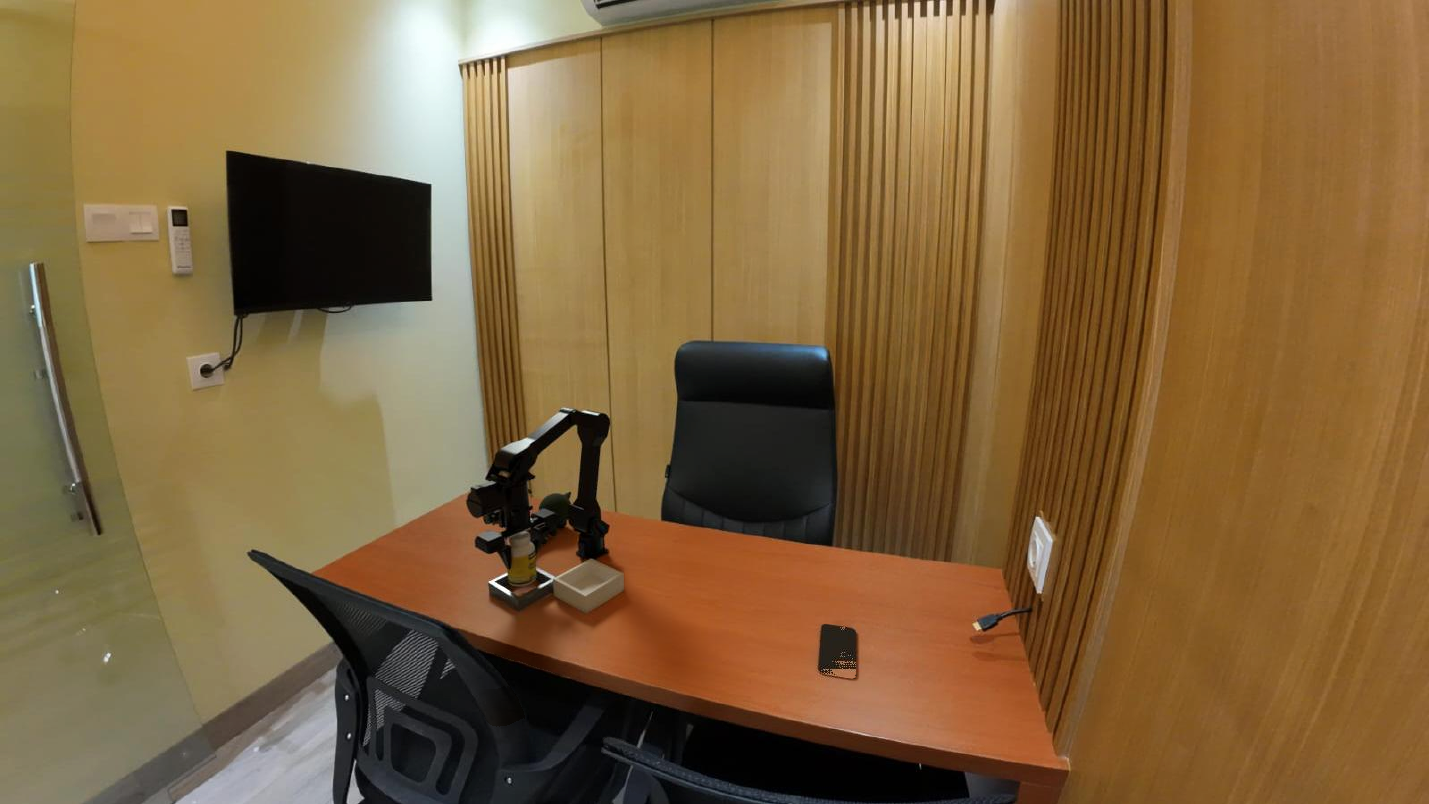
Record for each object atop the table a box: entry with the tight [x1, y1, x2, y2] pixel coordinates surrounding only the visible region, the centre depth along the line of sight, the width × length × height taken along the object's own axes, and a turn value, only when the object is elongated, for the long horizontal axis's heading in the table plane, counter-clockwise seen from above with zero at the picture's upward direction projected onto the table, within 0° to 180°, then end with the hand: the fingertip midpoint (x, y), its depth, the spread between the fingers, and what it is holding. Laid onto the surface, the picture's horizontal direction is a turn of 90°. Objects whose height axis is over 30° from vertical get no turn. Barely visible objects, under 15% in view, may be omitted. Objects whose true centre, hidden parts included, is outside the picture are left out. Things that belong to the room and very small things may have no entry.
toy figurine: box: [526, 488, 572, 546], centre depth 153 cm, size 9×19×25 cm
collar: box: [487, 566, 556, 612], centre depth 128 cm, size 11×12×3 cm
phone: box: [817, 623, 858, 675], centre depth 109 cm, size 7×1×15 cm
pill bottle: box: [506, 531, 537, 587], centre depth 127 cm, size 6×6×12 cm
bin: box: [553, 559, 625, 615], centre depth 128 cm, size 12×12×4 cm
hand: (521, 562), depth 127 cm, fingers closed on pill bottle, 6 cm apart
